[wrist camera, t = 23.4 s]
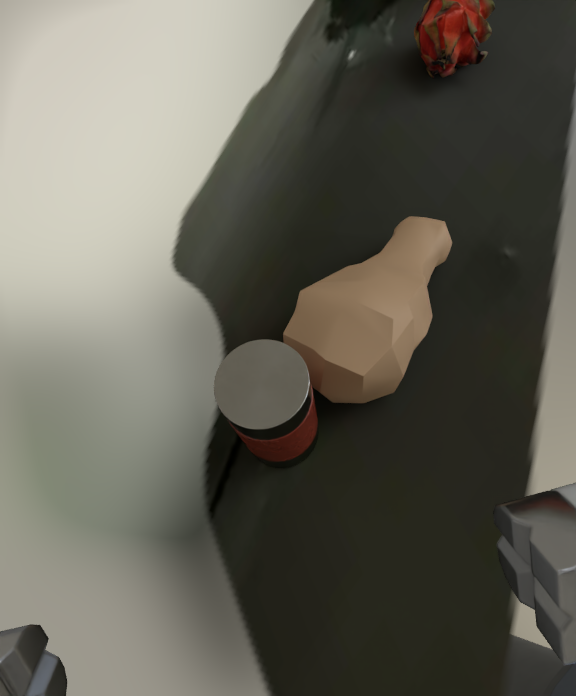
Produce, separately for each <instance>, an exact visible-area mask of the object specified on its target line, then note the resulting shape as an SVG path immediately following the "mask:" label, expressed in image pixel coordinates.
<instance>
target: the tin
mask: <svg viewBox="0 0 576 696" xmlns="http://www.w3.org/2000/svg"><path fill="white" fill-rule="evenodd" d="M214 394H215V399H216V402H217V404H218V407H219V408H220V410H221V412H222V413H223V414H224V416H225V417H226V418H227V420H228V422H229V423H230V425H231V426H232V427H233V429H234V430H235V431H236V433H237V434H238V435H239V437H240V438H241V439H242V440H243V442H244V443H245V444H246V446H247V447H248V448H249V449H250V450H251V451H252V453H253V454H254V455H255V456H256V457H257V458H258V459H259V460H260V461H261V462H263V463H265V464H267V465H269V466H272V467H277V468H287V467H291V466H294V465H297V464H299V463H301V462H302V461H304V460H305V459H306V458H307V457H308V456H309V455H310V454H311V452H312V451H313V449H314V448H315V445H316V443H317V440H318V421H317V413H316V407H315V401H314V395H313V390H312V385H311V382H310V377H309V372H308V368H307V366H306V363H305V362H304V360H303V358H302V357H301V356H300V354H299V353H298V352H297V351H296V350H294V349H293V348H292V347H290V346H288V345H287V344H284V343H282V342H279V341H275V340H266V339H263V340H255V341H251V342H248V343H245V344H243V345H241V346H239V347H237V348H236V349H234V350H233V351H232V352H231V353H229V354H228V355H227V356H226V358H225V359H224V360H223V361H222V363H221V365H220V366H219V368H218V371H217V373H216V376H215V381H214Z"/></svg>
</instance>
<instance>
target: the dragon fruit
mask: <svg viewBox="0 0 576 696" xmlns="http://www.w3.org/2000/svg"><path fill="white" fill-rule="evenodd" d="M494 9H495V5H494V2H493V1H492V0H429V1H428V2H427V3H426V4H425V6H424V9H423V13H422V15H421V17H420V19H419V21H418V22H417V24H416V27H415V30H414V37H415V39H416V42H417V46H418V51H419V55H420V57H421V58H422V59H423V60H424V62H425V64H426V66H427V68H426V70H427V71H428V74H429V75H430V77H432V78H433V79H434V74H437V73H440V75H441V76H442V77H445V76H449V75H452V74H453V73H455V71H456V70H457V68H456V69H454V67H455V64H456V63H457V64H458V65H459V66H461V67H463V66H466V65H468V64H470V65H471V64H478V63H481V62H482V61H483V60H484V58H485V57H486V56H487V54H488V52H486V51H479V50H478V49H477V48H476V46H477V47H479V43H482V42H484V41H486V40H487V39H488V38H489V37H490V35H491V34H492V32H491V30H492V29H491V28H490V26H489V23H488V22H487V21H486V20H485V19H486V18H488V17H489V16H490V14H491V13H492V12H493V10H494Z"/></svg>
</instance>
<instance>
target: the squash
mask: <svg viewBox="0 0 576 696" xmlns="http://www.w3.org/2000/svg"><path fill="white" fill-rule="evenodd" d="M451 245H452V241H451V238H450V235H449V232H448V229H447V227H446V224H445V221H440V220H435V219H430V218H425V217H411V216H410V217H408V218H406V219H405V220H403V221H402V222H401V223H400V224H399V225H398V226H397V227H396V228H395V230H394V233H393V237H392V238H391V240H390V241H389V242H388V243H387V245H386V246H385V247H384V249H383V250H382V251H381V253H379V254H377V255H375V256H373V257H372V258H370V259H368V260H366V261H364V262H363V263H360V264H356V265H351V266H347V267H345V268H343V269H342V270H340V271H338V272H336V273H334V274H332V275H330V276H328V277H326V278H324V279H322V280H320V281H318V282H316V283H314V284H313V285H311V286H309V287H307V288H305V289H303V290H301V291H300V293H299V297H298V301H297V305H296V309H295V312H294V314H293V316H292V318H291V320H290V322H289V324H288V326H287V327H286V329H285V331H284V333H283V338H284V344H287V345H288V346H290V347H292V348H293V349H294V350H296V351H297V352H298V353H299V354H300V356H301V357H302V358H303V360H304V362H305V363H306V366H307V368H308V372H309V377H310V382H311V385H312V387H313V388H315V389H316V390H317V391H319V392H320V393H321V394H322V395H324V396H325V397H326V398H328V399H329V400H330V401H332V402H333V403H366V402H369V401H371V400H374V399H377V398H380V397H383V396H385V395H388V394H391V393H394V392H395V390H396V388H397V387H398V385H399V383H400V382H401V380H402V378H403V376H404V374H405V371H406V369H407V366H408V363H409V361H410V358H411V356H412V353H413V350H415V348H416V347H417V346H418V345H419V343H420V342H421V341H422V339H423V338H424V337H425V335H426V334H427V331H428V328H429V325H430V322H431V319H432V311H431V306H430V300H429V295H428V290H427V285H428V282H429V280H430V277H431V274H432V272H433V270H434V268H435V267H436V266H438V265H439V264H441V263H443V262H444V261H445V260H446V258H447V256H448V253H449V251H450V248H451Z"/></svg>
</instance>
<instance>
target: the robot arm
mask: <svg viewBox="0 0 576 696" xmlns="http://www.w3.org/2000/svg"><path fill="white" fill-rule="evenodd" d="M493 514H494V524H495V525H496V527H497V528H498V529H499V531H500V532H501V533H502V534H503V535H502V536H501V538H500V540H499V541H498V543H497V549H498V556H499V561H500V564H501V566H502V569H503V572H504V575H505V577H506V579H507V581H508V583H509V585H510V587H511V589H512V590H513V592H514V593H515V595H516V596H517V598H518V599H519V601H520V602H521V603H523V604H525V605H527V606H529V607H530V608H532V609H534V610H535V614H536V624H537V627H538V629H539V630H540V632H541V633H542V634H543V636H544V637H545V639H546V640H547V642H548V643H549V644H550V646H551V647H552V649H553V650H554V652H555V653H556V655H557V656H558V658H559V659H560V660H561V662H562V663H563V665H567V664H572V663H576V483H573V484H569V485H566V486H562V487H559V488H555V489H551V490H550V491H546V492H542V493H538V494H534V495H530V496H526V497H523V498H519V499H515V500H511V501H508V502H504V503H500V504H496V505H495V507H494V511H493ZM47 643H48V637H47V636H46V634H45V632H44V630H43V629H42V627H41V626H40V625H27V626H22V627H18V628H14V629H9V630H5V631H1V632H0V696H66V689H67V678H66V673H65V668H64V666H63V664H62V662H61V660H60V658H59V657H57V656H56V655H54V654H52V653H50V652H48V651H46V650H45V649H46V646H47Z"/></svg>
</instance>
